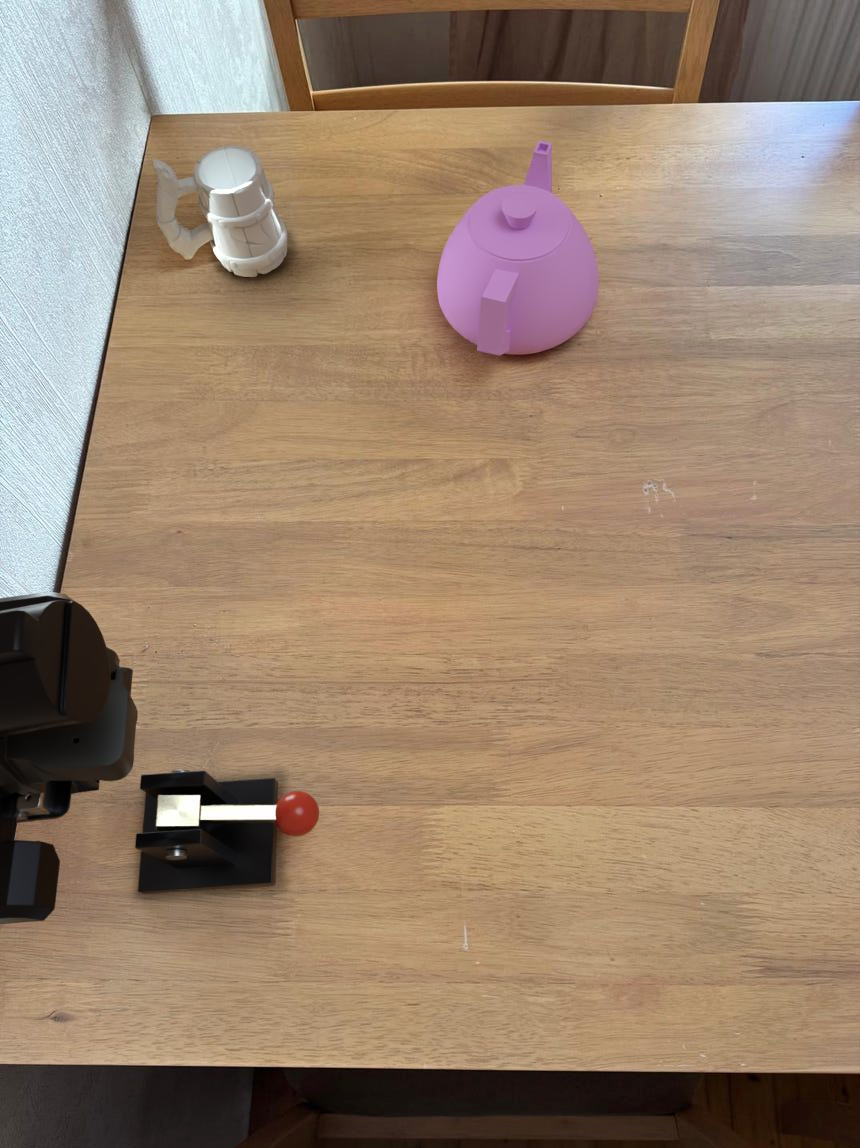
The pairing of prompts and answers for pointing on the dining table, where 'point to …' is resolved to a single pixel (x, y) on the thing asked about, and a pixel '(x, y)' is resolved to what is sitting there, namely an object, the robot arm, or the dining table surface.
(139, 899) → the dining table surface
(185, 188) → the mug
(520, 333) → the teapot
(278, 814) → the lever
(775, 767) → the dining table surface
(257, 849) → the switch bracket
